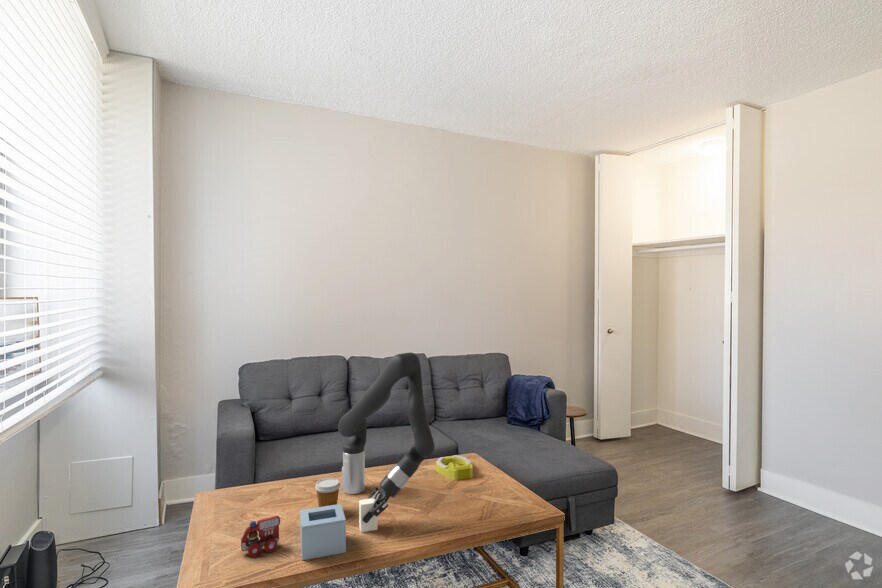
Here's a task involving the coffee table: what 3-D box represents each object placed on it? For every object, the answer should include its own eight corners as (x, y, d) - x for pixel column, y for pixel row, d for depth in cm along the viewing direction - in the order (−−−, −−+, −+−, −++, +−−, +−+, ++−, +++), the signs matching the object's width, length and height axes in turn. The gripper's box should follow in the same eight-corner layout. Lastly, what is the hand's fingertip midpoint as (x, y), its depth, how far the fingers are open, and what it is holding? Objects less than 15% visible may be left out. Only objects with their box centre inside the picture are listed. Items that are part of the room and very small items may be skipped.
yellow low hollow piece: (447, 482, 213) (447, 471, 213) (431, 466, 232) (431, 456, 232) (480, 477, 219) (480, 466, 219) (461, 461, 238) (461, 451, 238)
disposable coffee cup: (327, 521, 178) (327, 489, 178) (310, 514, 183) (309, 484, 183) (345, 511, 186) (345, 480, 186) (328, 505, 191) (327, 475, 191)
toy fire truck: (240, 549, 160) (239, 519, 159) (278, 540, 166) (278, 510, 165) (242, 560, 154) (241, 528, 153) (281, 549, 159) (281, 519, 159)
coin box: (302, 560, 153) (301, 526, 153) (300, 541, 164) (300, 510, 164) (345, 552, 158) (345, 519, 157) (341, 534, 169) (341, 503, 169)
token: (375, 524, 176) (375, 497, 176) (377, 529, 172) (377, 502, 172) (359, 527, 174) (359, 500, 174) (361, 532, 170) (360, 504, 170)
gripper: (384, 467, 182) (352, 503, 178) (392, 482, 168) (358, 521, 165) (397, 479, 184) (366, 515, 180) (407, 494, 170) (374, 533, 166)
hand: (363, 517), depth 172 cm, fingers open, 4 cm apart
